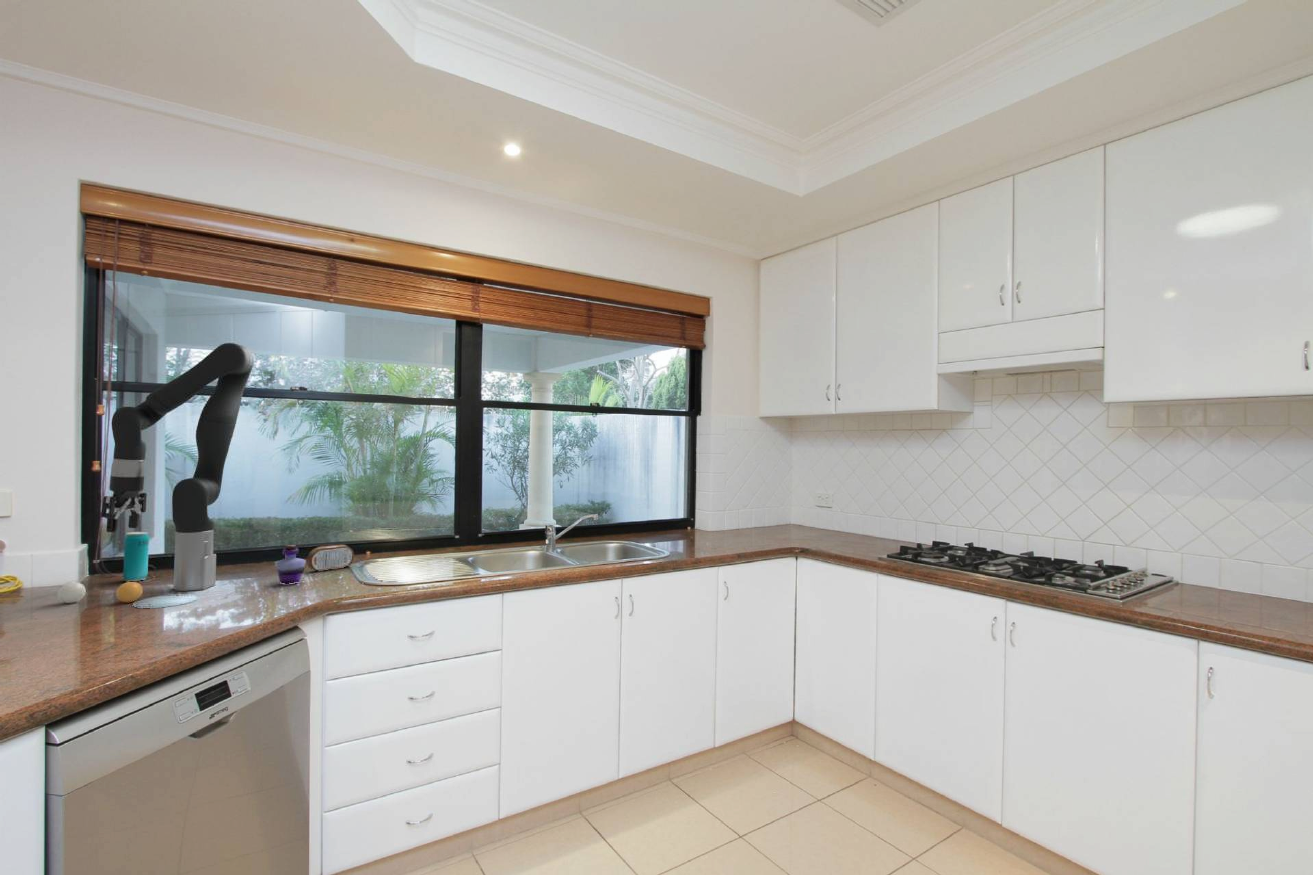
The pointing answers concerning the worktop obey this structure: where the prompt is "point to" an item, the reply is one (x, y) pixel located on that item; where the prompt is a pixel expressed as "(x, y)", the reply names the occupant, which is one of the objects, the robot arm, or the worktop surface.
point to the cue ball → (71, 592)
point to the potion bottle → (290, 565)
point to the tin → (330, 557)
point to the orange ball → (129, 592)
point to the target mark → (164, 601)
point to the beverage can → (136, 556)
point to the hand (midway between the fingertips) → (122, 529)
